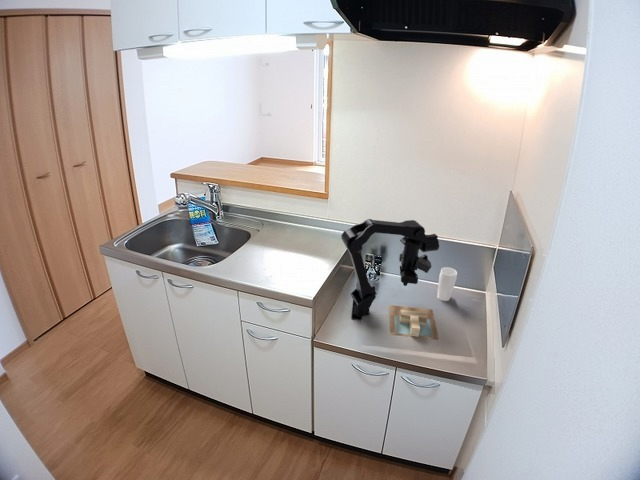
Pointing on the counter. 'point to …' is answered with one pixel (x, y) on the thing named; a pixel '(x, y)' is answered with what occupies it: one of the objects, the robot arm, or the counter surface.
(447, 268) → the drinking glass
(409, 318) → the t block
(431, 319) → the push board
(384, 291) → the counter surface
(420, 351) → the counter surface
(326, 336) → the counter surface
